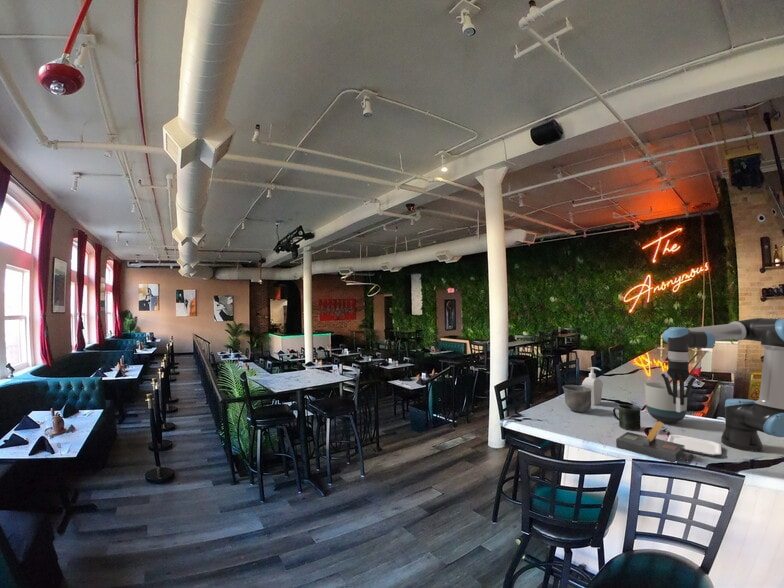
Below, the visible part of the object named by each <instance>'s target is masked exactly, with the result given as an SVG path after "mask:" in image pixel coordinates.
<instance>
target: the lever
mask: <svg viewBox="0 0 784 588" xmlns="http://www.w3.org/2000/svg"><path fill="white" fill-rule="evenodd" d="M664 424H665V423H664V422H661V421H658V420H657V422H655V424H654V425H653V427H652V428H651V430H650V431H649V433H648V435H646V436H647V438H646V439H649V441H650V442H651V441H653V440H654V439H655V438H656V439H657V436H658V435H659V434H660V432H661V430H662V428H663V427H664Z"/></svg>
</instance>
